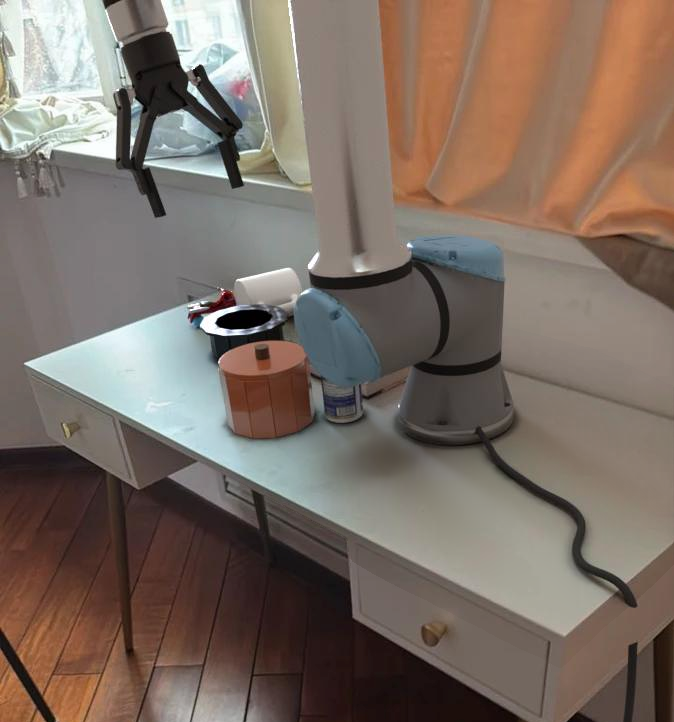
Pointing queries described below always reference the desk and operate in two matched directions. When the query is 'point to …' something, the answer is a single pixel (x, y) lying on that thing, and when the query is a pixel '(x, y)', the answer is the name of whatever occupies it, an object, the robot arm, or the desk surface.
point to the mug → (269, 290)
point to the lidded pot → (267, 389)
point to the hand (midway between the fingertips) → (200, 202)
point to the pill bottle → (341, 402)
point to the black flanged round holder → (243, 326)
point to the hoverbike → (211, 306)
